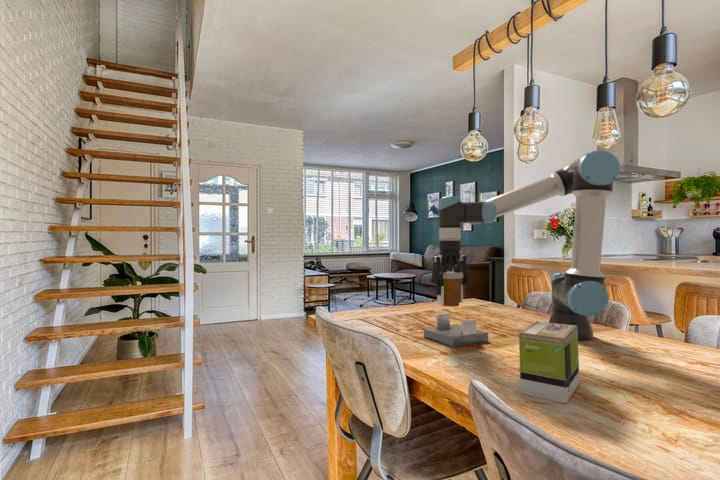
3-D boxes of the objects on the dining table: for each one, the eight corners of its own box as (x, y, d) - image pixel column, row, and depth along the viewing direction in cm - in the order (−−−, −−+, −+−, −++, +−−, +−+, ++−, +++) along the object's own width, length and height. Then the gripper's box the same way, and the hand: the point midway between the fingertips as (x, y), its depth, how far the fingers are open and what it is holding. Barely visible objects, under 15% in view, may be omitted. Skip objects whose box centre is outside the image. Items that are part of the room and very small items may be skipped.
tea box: (537, 376, 102) (536, 319, 102) (580, 384, 95) (579, 324, 95) (518, 394, 90) (518, 330, 90) (566, 405, 84) (566, 337, 84)
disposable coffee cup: (461, 303, 143) (461, 270, 143) (465, 307, 134) (465, 273, 134) (435, 302, 144) (435, 270, 144) (437, 307, 135) (437, 272, 135)
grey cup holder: (488, 341, 136) (487, 318, 136) (453, 347, 129) (452, 323, 129) (456, 331, 151) (456, 311, 151) (423, 336, 143) (423, 315, 143)
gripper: (464, 239, 147) (464, 299, 147) (420, 240, 137) (420, 304, 137) (479, 239, 140) (479, 302, 140) (433, 240, 131) (433, 307, 131)
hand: (450, 303), depth 139 cm, fingers closed on disposable coffee cup, 8 cm apart
